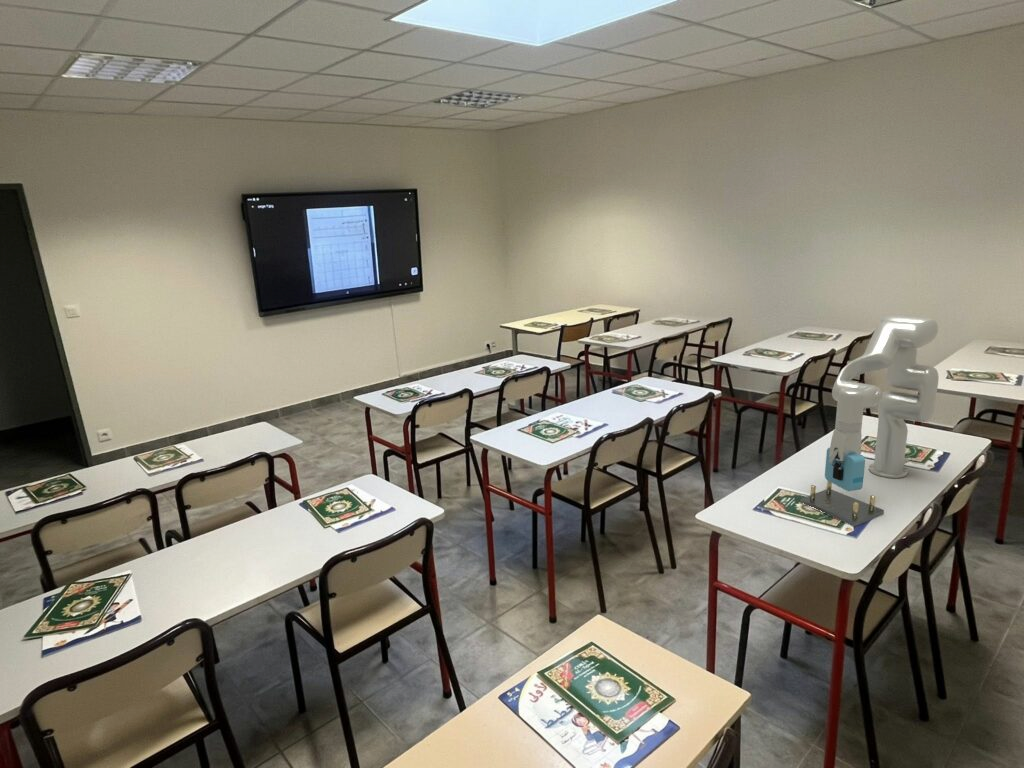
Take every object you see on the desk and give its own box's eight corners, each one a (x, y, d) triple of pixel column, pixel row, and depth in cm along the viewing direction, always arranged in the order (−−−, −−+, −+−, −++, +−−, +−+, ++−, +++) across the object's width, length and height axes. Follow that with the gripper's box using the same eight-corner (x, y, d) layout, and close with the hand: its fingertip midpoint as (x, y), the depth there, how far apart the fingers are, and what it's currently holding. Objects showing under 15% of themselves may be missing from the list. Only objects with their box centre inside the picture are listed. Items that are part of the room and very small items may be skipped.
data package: (862, 491, 199) (866, 456, 196) (850, 493, 198) (854, 458, 195) (835, 477, 210) (838, 444, 207) (823, 479, 209) (826, 446, 206)
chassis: (828, 492, 219) (830, 475, 217) (883, 514, 201) (885, 496, 200) (800, 503, 212) (801, 485, 210) (854, 526, 195) (856, 508, 193)
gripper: (854, 417, 206) (849, 467, 210) (820, 427, 198) (816, 479, 203) (876, 423, 199) (870, 474, 204) (841, 434, 192) (837, 487, 197)
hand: (843, 476), depth 203 cm, fingers closed on data package, 5 cm apart
